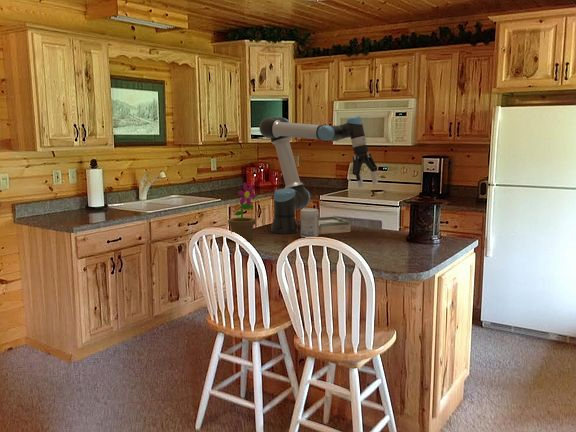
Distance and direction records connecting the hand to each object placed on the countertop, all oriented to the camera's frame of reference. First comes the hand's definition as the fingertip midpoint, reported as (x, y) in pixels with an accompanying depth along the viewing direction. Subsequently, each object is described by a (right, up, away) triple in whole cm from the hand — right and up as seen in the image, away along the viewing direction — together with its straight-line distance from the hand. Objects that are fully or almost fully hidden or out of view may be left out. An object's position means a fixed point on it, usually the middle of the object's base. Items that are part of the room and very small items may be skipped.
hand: (368, 185), depth 288 cm
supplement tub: (-31, -28, +1) cm, 42 cm away
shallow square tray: (-21, -24, +20) cm, 38 cm away
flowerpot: (-66, -29, -5) cm, 72 cm away
